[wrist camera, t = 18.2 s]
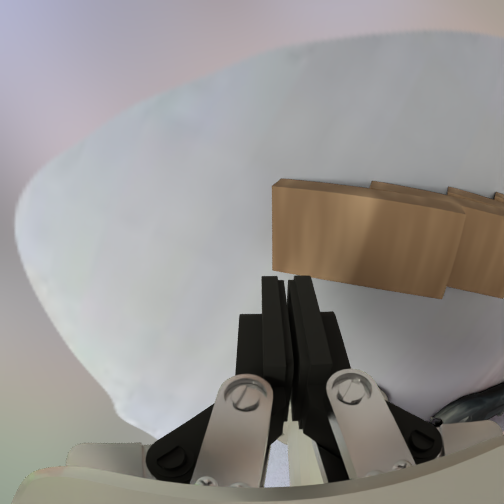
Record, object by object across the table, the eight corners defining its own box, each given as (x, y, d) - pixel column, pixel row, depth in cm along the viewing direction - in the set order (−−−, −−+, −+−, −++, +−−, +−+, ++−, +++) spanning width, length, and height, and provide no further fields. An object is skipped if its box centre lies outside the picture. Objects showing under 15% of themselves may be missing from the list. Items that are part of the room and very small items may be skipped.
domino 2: (372, 180, 16) (520, 214, 12) (362, 255, 19) (498, 284, 15) (369, 187, 15) (529, 224, 11) (358, 267, 18) (503, 298, 14)
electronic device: (512, 361, 29) (439, 405, 28) (529, 388, 24) (455, 440, 24) (486, 392, 34) (416, 430, 34) (499, 417, 30) (429, 460, 29)
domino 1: (281, 178, 17) (458, 203, 13) (280, 257, 19) (438, 283, 16) (271, 186, 15) (466, 214, 12) (272, 270, 18) (442, 299, 14)
